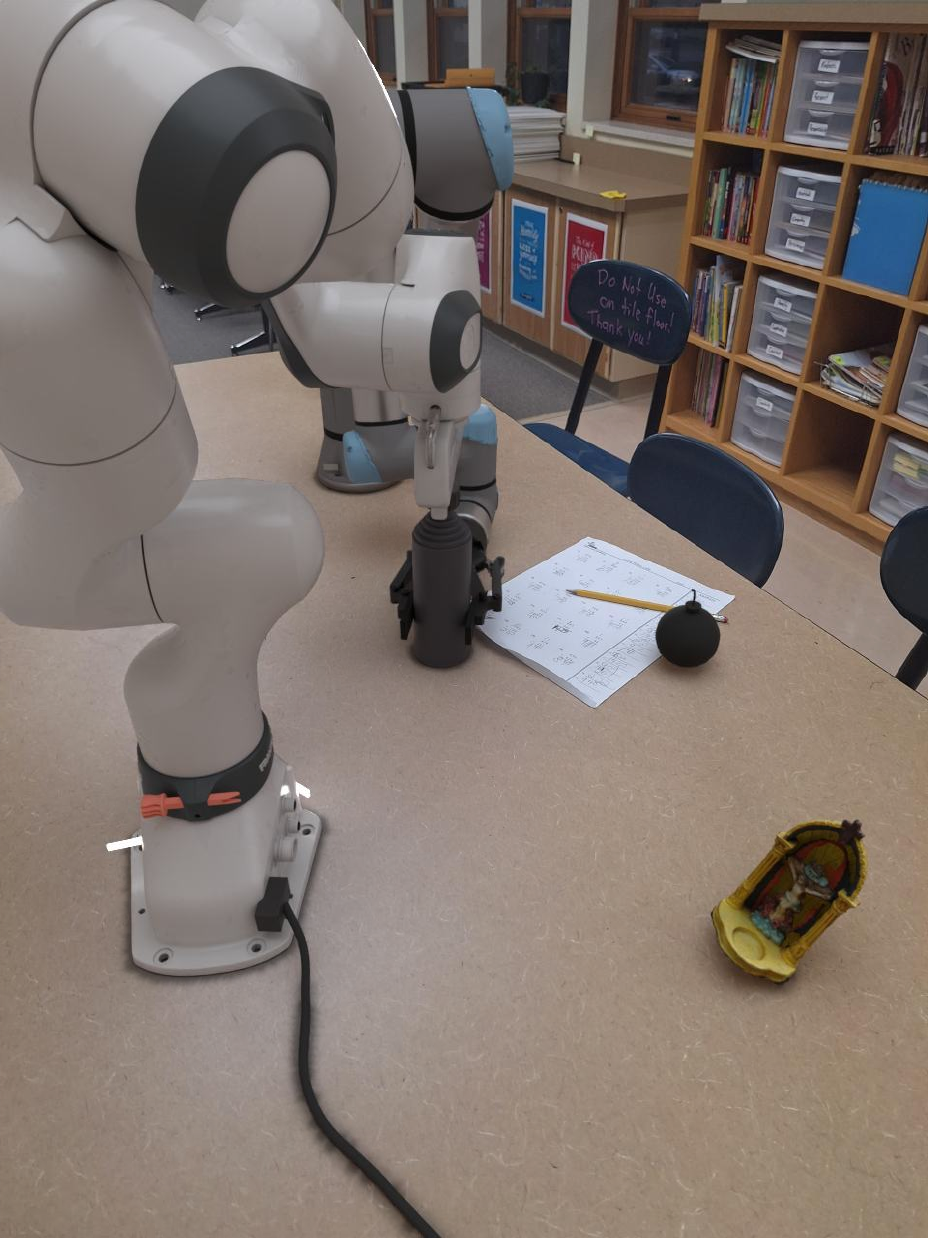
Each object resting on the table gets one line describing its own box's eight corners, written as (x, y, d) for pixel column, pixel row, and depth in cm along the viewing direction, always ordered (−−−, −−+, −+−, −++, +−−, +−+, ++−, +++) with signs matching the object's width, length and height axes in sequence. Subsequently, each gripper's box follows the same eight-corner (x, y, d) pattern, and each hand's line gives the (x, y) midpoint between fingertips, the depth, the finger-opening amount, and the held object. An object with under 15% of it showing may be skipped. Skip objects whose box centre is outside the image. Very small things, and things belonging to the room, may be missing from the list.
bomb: (664, 635, 115) (676, 558, 108) (722, 654, 111) (739, 576, 104) (642, 667, 109) (654, 588, 102) (703, 688, 106) (720, 608, 99)
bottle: (471, 667, 110) (475, 507, 96) (414, 668, 109) (410, 507, 96) (467, 633, 115) (471, 477, 102) (414, 634, 115) (410, 478, 101)
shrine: (791, 892, 81) (830, 781, 73) (851, 966, 75) (901, 853, 66) (686, 929, 78) (714, 817, 69) (739, 1009, 72) (776, 896, 63)
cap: (421, 511, 98) (421, 494, 97) (427, 494, 101) (426, 478, 100) (457, 513, 98) (457, 496, 97) (461, 496, 101) (461, 479, 100)
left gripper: (461, 430, 83) (462, 552, 91) (475, 358, 100) (475, 468, 108) (396, 428, 83) (403, 550, 92) (421, 357, 100) (424, 466, 108)
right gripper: (531, 566, 124) (517, 664, 106) (394, 556, 126) (356, 651, 108) (533, 520, 120) (519, 614, 101) (391, 511, 122) (352, 601, 104)
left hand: (442, 505), depth 100 cm, fingers closed on cap, 4 cm apart
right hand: (435, 633), depth 105 cm, fingers closed on bottle, 7 cm apart
